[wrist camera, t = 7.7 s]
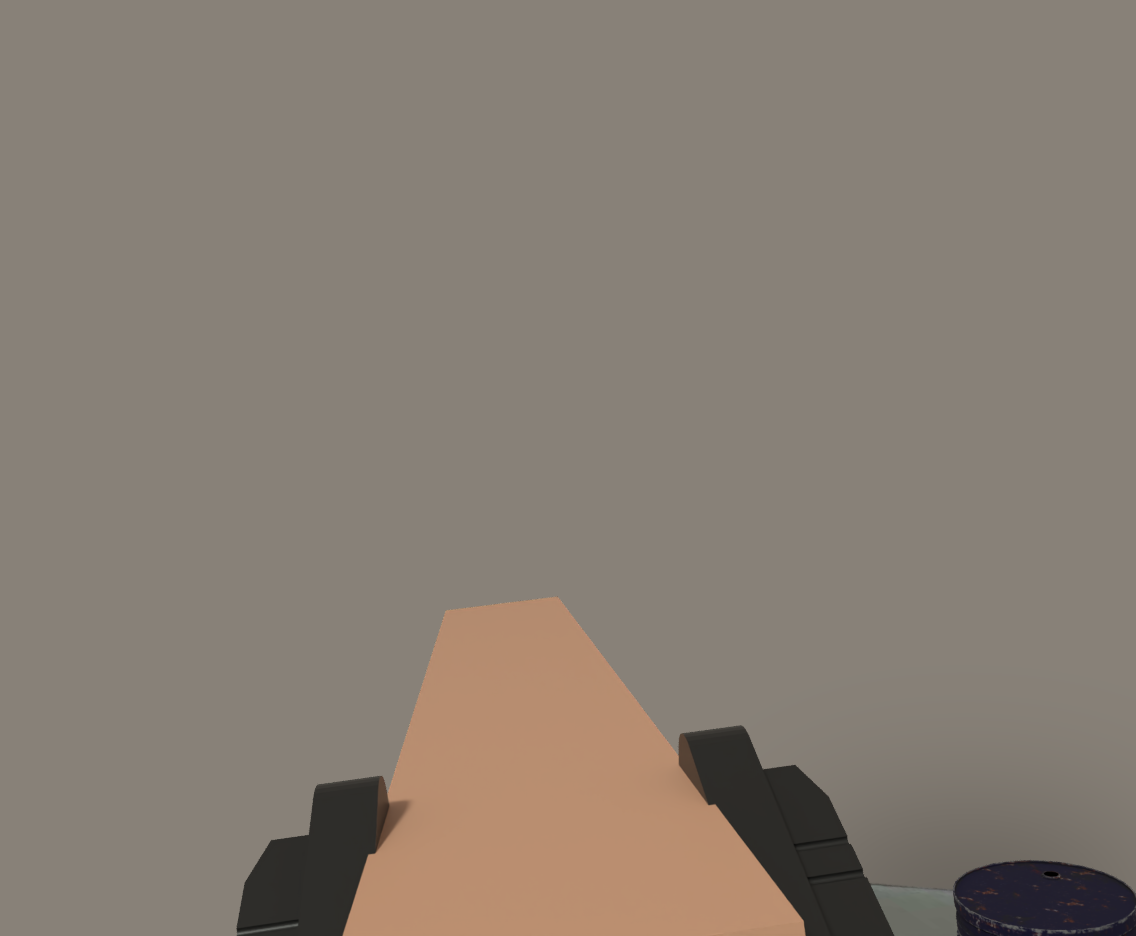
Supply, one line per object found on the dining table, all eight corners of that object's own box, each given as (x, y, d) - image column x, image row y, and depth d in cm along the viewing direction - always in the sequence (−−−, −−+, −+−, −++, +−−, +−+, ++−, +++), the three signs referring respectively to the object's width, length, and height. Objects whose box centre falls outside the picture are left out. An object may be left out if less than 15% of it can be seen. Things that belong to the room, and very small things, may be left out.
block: (458, 722, 31) (445, 610, 31) (570, 707, 31) (557, 596, 31) (377, 1498, 7) (323, 995, 7) (859, 1400, 7) (803, 920, 7)
